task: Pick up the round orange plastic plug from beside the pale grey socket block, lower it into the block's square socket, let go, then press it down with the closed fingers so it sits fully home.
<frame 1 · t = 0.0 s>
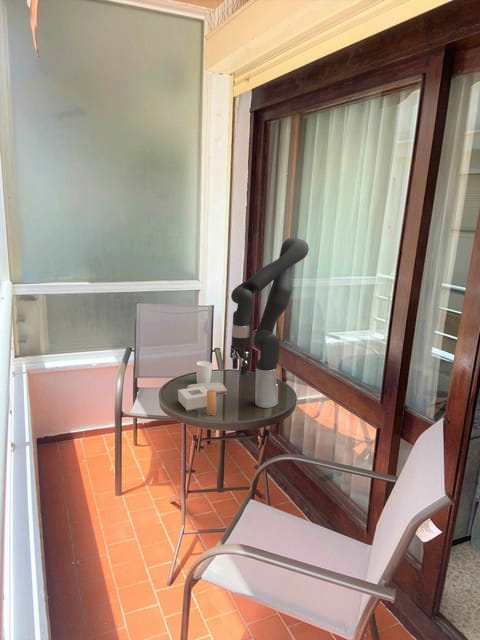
hand: (239, 371, 208), 17 cm above the table, tool pointing down, fingers open, 8 cm apart
plug: (211, 413, 206), on the table
white cup: (203, 382, 243), on the table
socket block: (195, 404, 216), on the table
washcloth: (207, 392, 232), on the table
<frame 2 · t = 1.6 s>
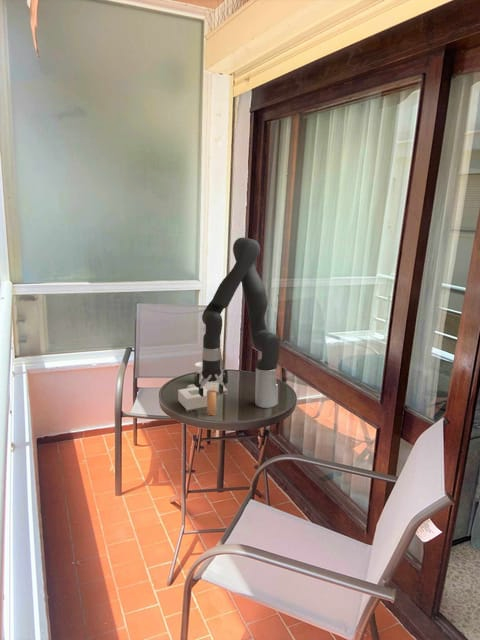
hand: (211, 394, 204), 9 cm above the table, tool pointing down, fingers open, 8 cm apart
nothing on the table moved.
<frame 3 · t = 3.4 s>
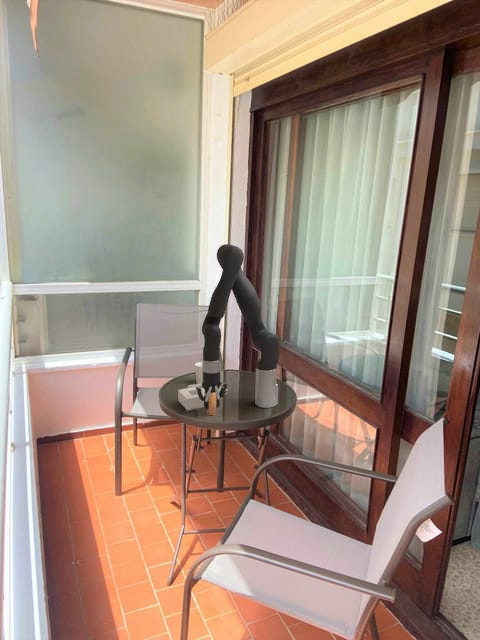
hand: (211, 407, 206), 3 cm above the table, tool pointing down, fingers closed on plug, 4 cm apart
plug: (211, 413, 206), on the table, touching gripper
everything else where it was.
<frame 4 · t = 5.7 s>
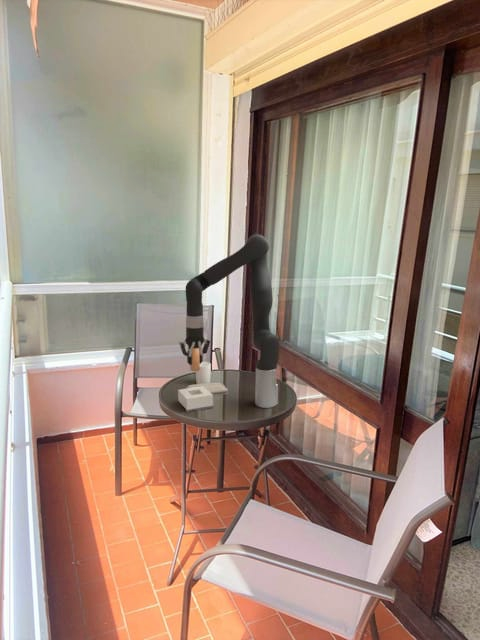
hand: (194, 363, 211), 19 cm above the table, tool pointing down, fingers closed on plug, 4 cm apart
plug: (195, 369, 211), point 17 cm above the table, touching gripper
everything else where it was.
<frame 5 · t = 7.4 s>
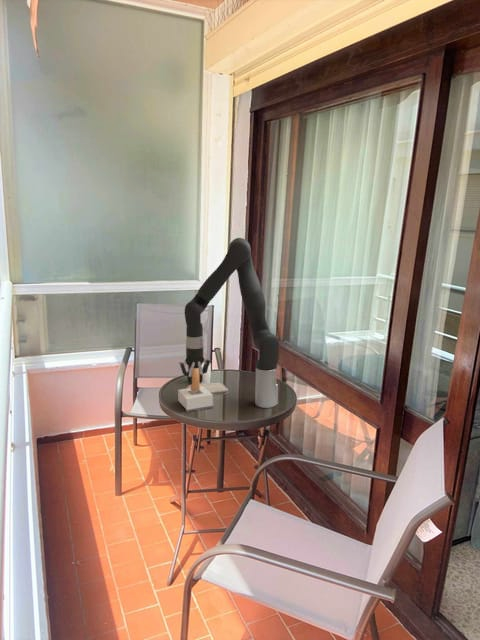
hand: (194, 383, 213), 10 cm above the table, tool pointing down, fingers closed on plug, 4 cm apart
plug: (195, 389, 214), point 8 cm above the table, touching gripper
everything else where it was.
when the fingers open (7 cm above the table, at t = 8.5 s): plug drops 3 cm, resting on socket block.
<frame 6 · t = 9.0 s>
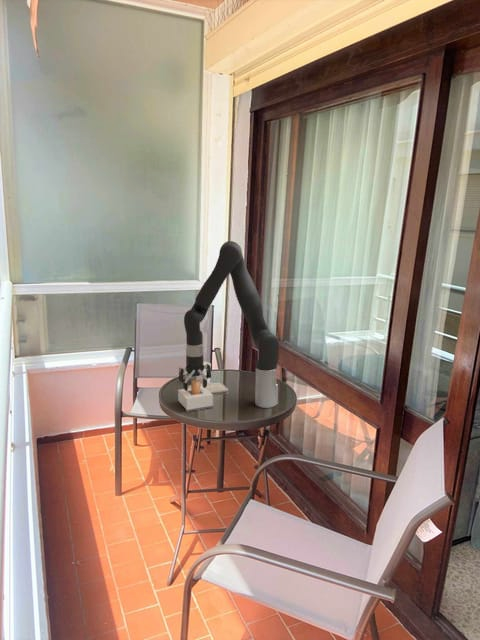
hand: (195, 388, 214), 8 cm above the table, tool pointing down, fingers open, 8 cm apart
plug: (195, 402, 215), point 1 cm above the table, touching socket block
everything else where it was.
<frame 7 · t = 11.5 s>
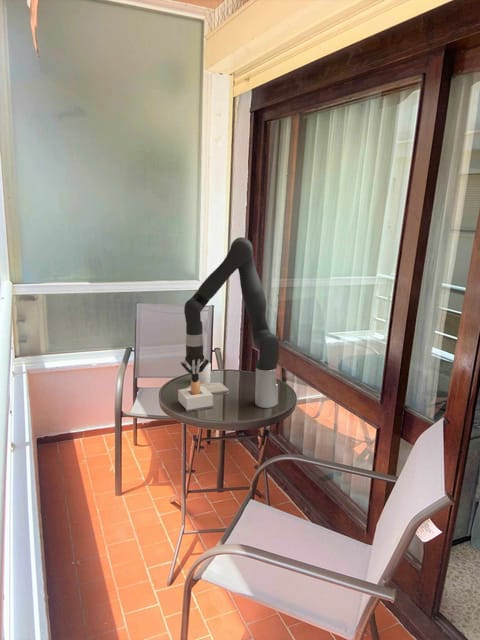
hand: (194, 381, 213), 11 cm above the table, tool pointing down, fingers closed
plug: (195, 402, 215), point 1 cm above the table, touching gripper, socket block
everything else where it was.
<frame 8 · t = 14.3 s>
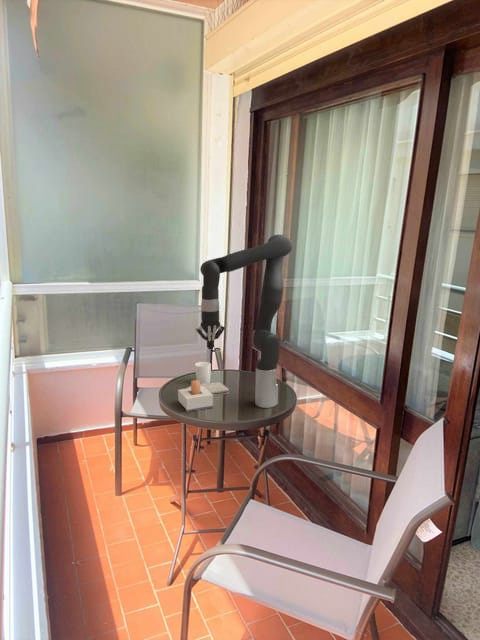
hand: (210, 348, 207), 27 cm above the table, tool pointing down, fingers closed
plug: (195, 402, 215), point 1 cm above the table, touching socket block
at the end: plug 0.2 cm from the socket block (horizontally); plug point 1.0 cm above the table; plug tilted 0° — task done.
